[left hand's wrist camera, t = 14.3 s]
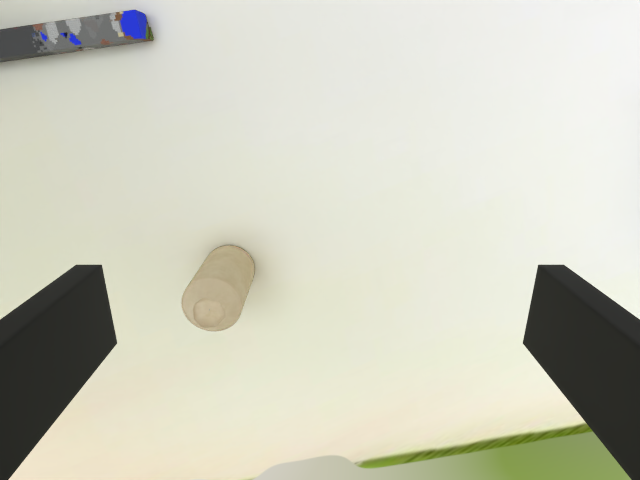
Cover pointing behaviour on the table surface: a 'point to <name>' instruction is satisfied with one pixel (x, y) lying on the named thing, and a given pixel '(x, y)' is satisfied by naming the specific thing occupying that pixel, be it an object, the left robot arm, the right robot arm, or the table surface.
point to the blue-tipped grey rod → (74, 35)
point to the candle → (219, 289)
